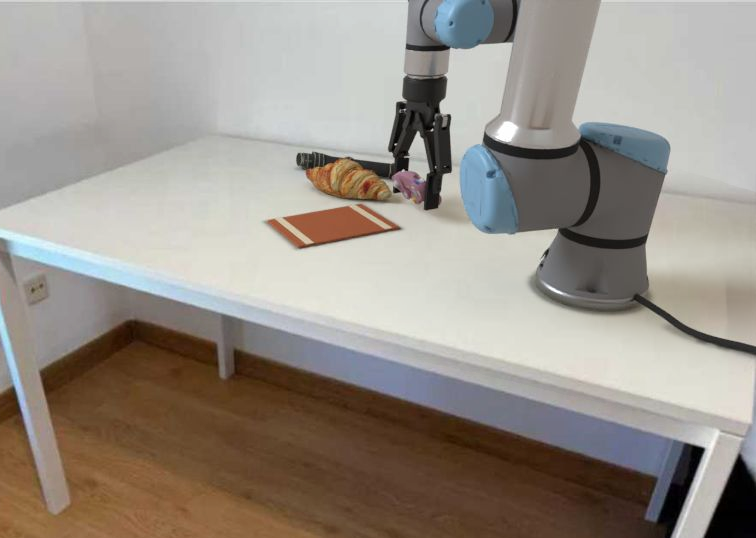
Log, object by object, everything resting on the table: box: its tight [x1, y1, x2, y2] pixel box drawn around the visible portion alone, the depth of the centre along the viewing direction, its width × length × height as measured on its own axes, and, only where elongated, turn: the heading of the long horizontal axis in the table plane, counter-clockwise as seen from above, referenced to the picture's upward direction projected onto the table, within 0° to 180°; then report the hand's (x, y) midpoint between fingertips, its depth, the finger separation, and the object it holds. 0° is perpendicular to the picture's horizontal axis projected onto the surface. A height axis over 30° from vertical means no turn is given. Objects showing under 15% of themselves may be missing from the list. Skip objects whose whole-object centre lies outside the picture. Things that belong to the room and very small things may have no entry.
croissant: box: [305, 157, 393, 201], centre depth 140 cm, size 21×10×8 cm, turn 51°
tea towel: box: [267, 203, 400, 249], centre depth 126 cm, size 14×20×1 cm
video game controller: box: [391, 169, 442, 207], centre depth 128 cm, size 10×5×7 cm, turn 25°
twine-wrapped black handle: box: [295, 150, 394, 180], centre depth 152 cm, size 4×5×25 cm
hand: (414, 200), depth 129 cm, fingers closed on video game controller, 10 cm apart
